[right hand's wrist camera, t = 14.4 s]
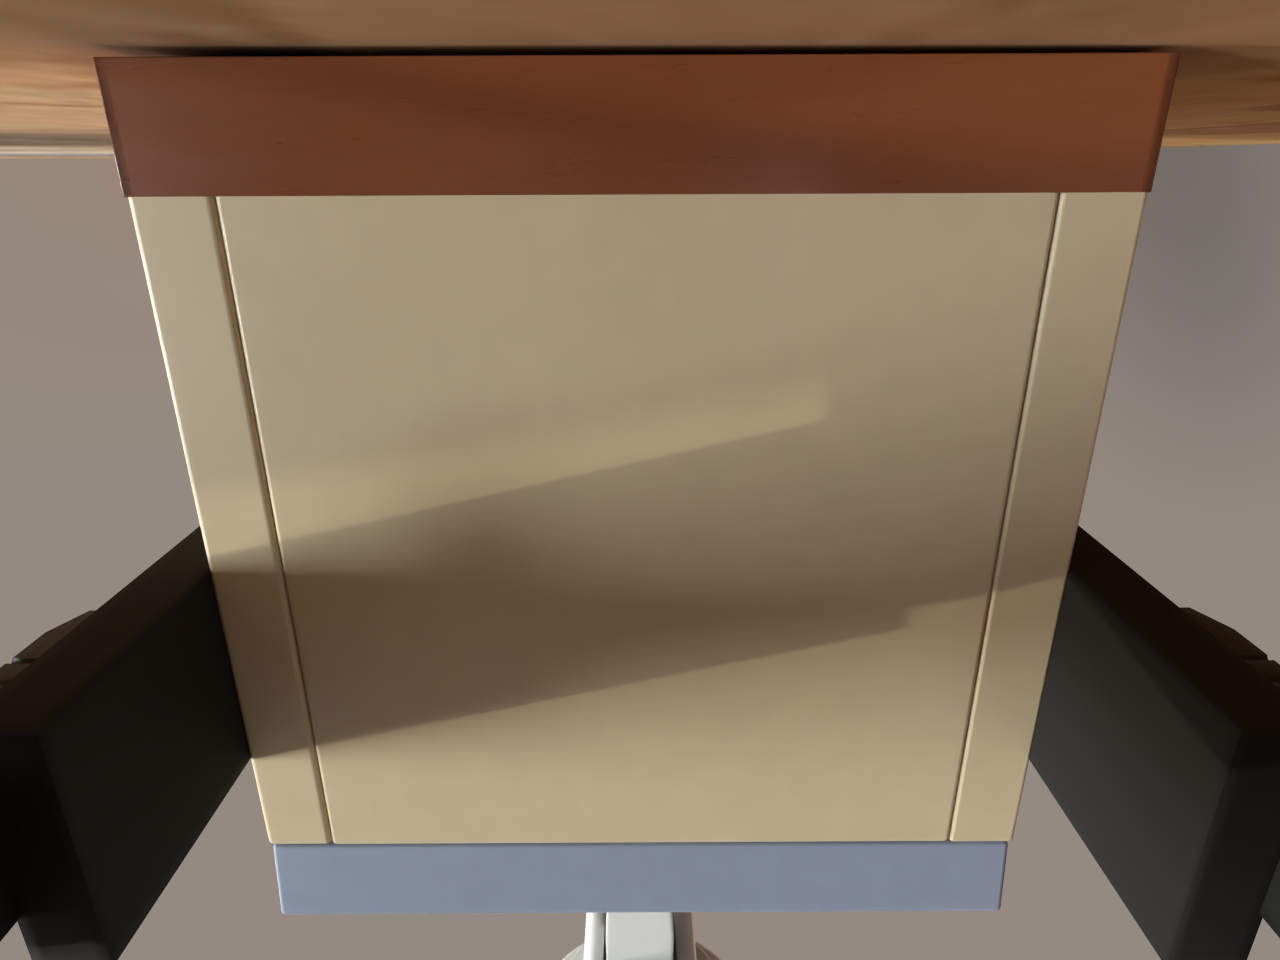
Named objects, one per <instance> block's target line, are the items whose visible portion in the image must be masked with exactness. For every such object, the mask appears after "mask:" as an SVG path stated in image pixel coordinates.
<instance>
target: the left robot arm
mask: <svg viewBox="0 0 1280 960" xmlns="http://www.w3.org/2000/svg"><path fill="white" fill-rule="evenodd" d="M562 960H720V959H719V958H718V957H717V956H716V955H715V954H713V953H712V952H711V951H710V950H708V949H707V948H705V947H704V946H702V945H701V944H699V943H697V942H695V933H694V921H693V912H615V913H587V915H586V930H585V943H584V944H582V945H581V946H579V947H577V948H576V949H574V950H573V951H572V952H570V953H569V954H568V955H567V956H566V957H565V958H563V959H562Z"/></svg>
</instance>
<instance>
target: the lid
mask: <svg viewBox="0 0 1280 960" xmlns="http://www.w3.org/2000/svg"><path fill="white" fill-rule="evenodd" d="M1007 846H1008V844H1007V841H951V840H950V839H949V837H948V839H947V840H945V841H813V842H619V843H426V844H336V843H334V842H333V839H332V841H331V842H330V843H327V844H274V856H275V864H276V871H277V879H278V887H279V895H280V903H281V911H282V913H284V914H421V913H615V912H803V911H805V912H806V911H993V910H994V911H995V910H999V909H1000V906H1001V897H1002V889H1003V880H1004V872H1005V863H1006V855H1007Z"/></svg>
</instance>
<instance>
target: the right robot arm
mask: <svg viewBox="0 0 1280 960" xmlns="http://www.w3.org/2000/svg"><path fill="white" fill-rule="evenodd" d="M250 758H251V755H250V750H249V746H248V741H247V737H246V732H245V728H244V723H243V718H242V714H241V709H240V705H239V700H238V696H237V691H236V686H235V682H234V677H233V673H232V668H231V664H230V659H229V654H228V650H227V645H226V641H225V636H224V632H223V627H222V623H221V618H220V613H219V609H218V604H217V600H216V595H215V591H214V586H213V581H212V577H211V572H210V568H209V563H208V559H207V554H206V549H205V545H204V540H203V536H202V531H201V527H200V526H199V527H198V528H197V529H196V530H195V531H193V532H192V533H191V534H190V535H188V536H187V537H186V538H185V539H184V540H182V541H181V542H180V543H179V544H177V545H176V546H175V547H174V548H172V549H171V550H170V551H169V552H168V553H166V554H165V555H164V556H163V557H161V558H160V559H159V560H158V561H156V562H155V563H154V564H153V565H152V566H150V567H149V568H148V569H147V570H145V571H144V572H143V573H142V574H140V575H139V576H138V577H137V578H136V579H134V580H133V581H132V582H131V583H129V584H128V585H127V586H126V587H125V588H123V589H122V590H121V591H120V592H118V593H117V594H116V595H115V596H113V597H112V598H111V599H110V600H108V601H107V602H106V603H105V604H104V605H102V606H101V607H100V608H99V609H97V610H96V611H88V612H86V613H84V614H82V615H80V616H78V617H76V618H74V619H72V620H70V621H68V622H66V623H64V624H62V625H60V626H58V627H56V628H54V629H52V630H50V631H48V632H46V633H44V634H43V635H42V636H40V637H39V638H38V639H37V640H35V641H34V642H33V643H31V644H30V645H29V646H28V647H26V648H25V649H24V650H22V651H21V652H20V653H19V654H17V655H16V656H15V657H14V658H12V663H11V664H5V665H3V666H2V667H1V668H0V941H1V940H2V939H3V938H4V936H5V935H6V934H7V933H8V932H9V930H10V929H11V928H12V927H13V925H14V924H15V923H16V922H17V921H18V924H19V926H20V929H21V932H22V935H23V937H24V940H25V942H26V945H27V948H28V951H29V953H30V956H31V959H32V960H118V958H119V957H120V955H121V954H122V952H123V951H124V949H125V948H126V946H127V945H128V943H129V942H130V940H131V939H132V937H133V935H134V934H135V933H136V931H137V930H138V928H139V926H140V925H141V923H142V922H143V920H144V919H145V917H146V916H147V914H148V913H149V911H150V910H151V908H152V907H153V905H154V904H155V902H156V901H157V899H158V898H159V896H160V895H161V893H162V892H163V890H164V888H165V887H166V886H167V884H168V883H169V881H170V880H171V878H172V876H173V875H174V873H175V872H176V870H177V869H178V867H179V866H180V864H181V863H182V861H183V860H184V858H185V857H186V855H187V854H188V852H189V851H190V849H191V848H192V846H193V845H194V843H195V842H196V840H197V839H198V837H199V836H200V834H201V832H202V831H203V829H204V828H205V826H206V825H207V823H208V822H209V820H210V819H211V817H212V816H213V814H214V813H215V811H216V810H217V808H218V807H219V805H220V804H221V802H222V801H223V799H224V798H225V796H226V794H227V793H228V792H229V790H230V788H231V787H232V785H233V784H234V782H235V781H236V779H237V778H238V776H239V775H240V773H241V772H242V770H243V769H244V767H245V766H246V764H247V763H248V761H249V760H250ZM1029 760H1030V761H1031V762H1032V764H1033V766H1034V767H1035V769H1036V770H1037V772H1038V773H1039V775H1040V776H1041V778H1042V779H1043V781H1044V782H1045V784H1046V785H1047V787H1048V788H1049V790H1050V791H1051V793H1052V795H1053V796H1054V798H1055V799H1056V801H1057V802H1058V804H1059V805H1060V807H1061V808H1062V810H1063V811H1064V813H1065V814H1066V816H1067V817H1068V819H1069V820H1070V822H1071V823H1072V825H1073V826H1074V828H1075V829H1076V831H1077V832H1078V834H1079V836H1080V837H1081V839H1082V840H1083V842H1084V843H1085V845H1086V846H1087V848H1088V849H1089V851H1090V852H1091V854H1092V855H1093V857H1094V858H1095V860H1096V861H1097V863H1098V864H1099V866H1100V867H1101V869H1102V870H1103V872H1104V873H1105V875H1106V876H1107V878H1108V880H1109V881H1110V883H1111V884H1112V886H1113V887H1114V889H1115V890H1116V892H1117V893H1118V894H1119V896H1120V898H1121V899H1122V901H1123V902H1124V904H1125V905H1126V907H1127V908H1128V910H1129V911H1130V913H1131V914H1132V916H1133V917H1134V919H1135V920H1136V922H1137V923H1138V925H1139V926H1140V928H1141V929H1142V931H1143V933H1144V934H1145V936H1146V937H1147V939H1148V940H1149V942H1150V943H1151V945H1152V946H1153V948H1154V949H1155V951H1156V952H1157V954H1158V955H1159V957H1160V958H1161V960H1247V958H1248V955H1249V952H1250V950H1251V947H1252V944H1253V942H1254V939H1255V936H1256V934H1257V931H1258V928H1259V926H1260V923H1261V920H1262V918H1264V920H1265V921H1266V922H1267V923H1268V924H1269V926H1270V927H1271V928H1272V929H1273V930H1274V932H1275V933H1276V934H1277V935H1278V936H1279V938H1280V665H1279V664H1278V663H1277V662H1276V661H1274V660H1268V658H1267V654H1265V653H1264V652H1263V651H1261V650H1260V649H1259V648H1258V647H1256V646H1255V645H1254V644H1252V643H1251V642H1250V641H1249V640H1247V639H1246V638H1245V637H1243V636H1242V635H1241V634H1239V633H1238V632H1237V631H1235V630H1234V629H1232V628H1230V627H1228V626H1226V625H1224V624H1222V623H1220V622H1218V621H1216V620H1214V619H1212V618H1210V617H1208V616H1206V615H1204V614H1202V613H1200V612H1197V611H1195V610H1193V609H1191V608H1179V607H1178V606H1177V605H1175V604H1174V603H1173V602H1172V601H1170V600H1169V599H1168V598H1167V597H1165V596H1164V595H1163V594H1162V593H1161V592H1159V591H1158V590H1157V589H1156V588H1154V587H1153V586H1152V585H1151V584H1150V583H1148V582H1147V581H1146V580H1145V579H1143V578H1142V577H1141V576H1140V575H1138V574H1137V573H1136V572H1135V571H1134V570H1132V569H1131V568H1130V567H1129V566H1127V565H1126V564H1125V563H1124V562H1122V561H1121V560H1120V559H1119V558H1118V557H1116V556H1115V555H1114V554H1113V553H1111V552H1110V551H1109V550H1108V549H1106V548H1105V547H1104V546H1103V545H1101V544H1100V543H1099V542H1098V541H1097V540H1095V539H1094V538H1093V537H1092V536H1091V535H1089V534H1088V533H1087V532H1086V531H1084V530H1083V529H1082V528H1081V527H1079V526H1078V527H1077V532H1076V537H1075V542H1074V547H1073V551H1072V556H1071V561H1070V566H1069V570H1068V574H1067V579H1066V583H1065V588H1064V593H1063V597H1062V602H1061V607H1060V612H1059V616H1058V621H1057V626H1056V630H1055V635H1054V640H1053V645H1052V649H1051V654H1050V659H1049V663H1048V668H1047V673H1046V677H1045V682H1044V687H1043V692H1042V696H1041V701H1040V706H1039V710H1038V715H1037V720H1036V725H1035V729H1034V734H1033V739H1032V743H1031V748H1030V753H1029Z"/></svg>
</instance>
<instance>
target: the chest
mask: <svg viewBox="0 0 1280 960" xmlns="http://www.w3.org/2000/svg"><path fill="white" fill-rule="evenodd" d="M1179 57H1180V53H1179V52H1148V53H917V54H686V55H455V56H224V57H94V58H93V61H94V66H95V70H96V75H97V79H98V84H99V88H100V93H101V97H102V102H103V106H104V111H105V115H106V120H107V124H108V129H109V134H110V138H111V143H112V147H113V152H114V156H115V161H116V165H117V170H118V174H119V179H120V183H121V188H122V192H123V196H124V197H128V198H129V202H130V207H131V212H132V216H133V221H134V225H135V230H136V234H137V239H138V243H139V248H140V253H141V257H142V262H143V266H144V271H145V275H146V280H147V285H148V289H149V294H150V298H151V303H152V307H153V312H154V317H155V321H156V326H157V330H158V335H159V339H160V344H161V349H162V353H163V358H164V362H165V367H166V371H167V376H168V381H169V385H170V390H171V394H172V399H173V403H174V408H175V412H176V417H177V422H178V426H179V431H180V435H181V440H182V444H183V449H184V454H185V458H186V463H187V467H188V472H189V476H190V481H191V485H192V490H193V494H194V499H195V504H196V508H197V513H198V517H199V522H200V527H201V531H202V536H203V540H204V545H205V549H206V554H207V559H208V563H209V568H210V572H211V577H212V581H213V586H214V591H215V595H216V600H217V604H218V609H219V613H220V618H221V623H222V627H223V632H224V636H225V641H226V645H227V650H228V654H229V659H230V664H231V668H232V673H233V677H234V682H235V686H236V691H237V696H238V700H239V705H240V709H241V714H242V718H243V723H244V728H245V732H246V737H247V741H248V746H249V750H250V755H251V759H252V764H253V769H254V773H255V778H256V782H257V787H258V791H259V796H260V801H261V805H262V810H263V814H264V819H265V823H266V828H267V833H268V837H269V841H270V842H271V843H273V844H327V843H330V842H331V841H332V839H333V842H334V843H336V844H426V843H619V842H813V841H945V840H947V839H948V837H949V839H950V840H951V841H1010V840H1012V838H1013V834H1014V829H1015V824H1016V819H1017V814H1018V809H1019V805H1020V800H1021V795H1022V790H1023V786H1024V781H1025V776H1026V771H1027V767H1028V762H1029V753H1030V748H1031V743H1032V739H1033V734H1034V729H1035V725H1036V720H1037V715H1038V710H1039V706H1040V701H1041V696H1042V692H1043V687H1044V682H1045V677H1046V673H1047V668H1048V663H1049V659H1050V654H1051V649H1052V645H1053V640H1054V635H1055V630H1056V626H1057V621H1058V616H1059V612H1060V607H1061V602H1062V597H1063V593H1064V588H1065V583H1066V579H1067V574H1068V570H1069V566H1070V561H1071V556H1072V551H1073V547H1074V542H1075V537H1076V532H1077V527H1078V523H1079V518H1080V513H1081V508H1082V503H1083V499H1084V494H1085V489H1086V484H1087V479H1088V475H1089V470H1090V465H1091V460H1092V456H1093V451H1094V446H1095V441H1096V436H1097V431H1098V427H1099V422H1100V417H1101V413H1102V408H1103V403H1104V398H1105V393H1106V388H1107V384H1108V379H1109V374H1110V370H1111V365H1112V360H1113V355H1114V350H1115V346H1116V341H1117V336H1118V331H1119V326H1120V322H1121V317H1122V312H1123V307H1124V302H1125V298H1126V293H1127V288H1128V283H1129V279H1130V274H1131V269H1132V264H1133V260H1134V255H1135V250H1136V245H1137V240H1138V236H1139V231H1140V226H1141V221H1142V216H1143V212H1144V207H1145V202H1146V197H1147V193H1148V192H1151V190H1152V185H1153V180H1154V176H1155V171H1156V166H1157V161H1158V157H1159V152H1160V147H1161V142H1162V138H1163V133H1164V128H1165V123H1166V119H1167V114H1168V109H1169V104H1170V100H1171V95H1172V90H1173V85H1174V81H1175V76H1176V71H1177V66H1178V62H1179Z"/></svg>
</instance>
